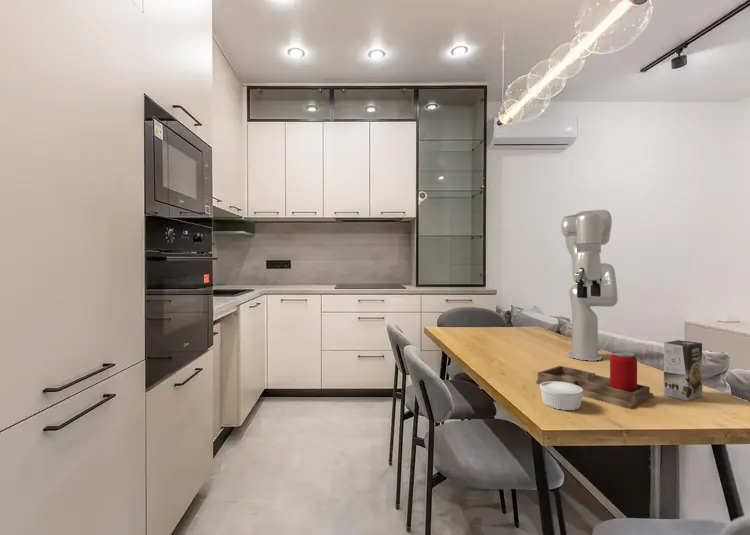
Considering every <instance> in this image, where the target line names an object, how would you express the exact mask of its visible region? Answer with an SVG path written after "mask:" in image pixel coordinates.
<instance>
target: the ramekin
mask: <svg viewBox="0 0 750 535" xmlns="http://www.w3.org/2000/svg"><path fill="white" fill-rule="evenodd" d="M539 388H540V392H541V399H542V401H543V403H544V404H545V406H547V405H548V406H547V407H549V406H550V407H549V408H551V407H553V408H552V409H554V408H556V409H555V410H558V409H561V410H560V411H565V410H573V411H576V410H575V409H577V410H578V409H579V408H581V405H582V398H583V396H582V395H583V389H582V388H581V387H579V386H577V385H575V384H571V383H566V382H557V381H549V382H543V383H541V384H539Z"/></svg>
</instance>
